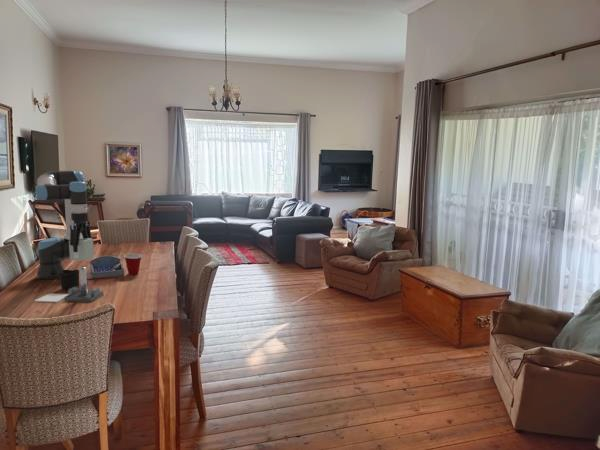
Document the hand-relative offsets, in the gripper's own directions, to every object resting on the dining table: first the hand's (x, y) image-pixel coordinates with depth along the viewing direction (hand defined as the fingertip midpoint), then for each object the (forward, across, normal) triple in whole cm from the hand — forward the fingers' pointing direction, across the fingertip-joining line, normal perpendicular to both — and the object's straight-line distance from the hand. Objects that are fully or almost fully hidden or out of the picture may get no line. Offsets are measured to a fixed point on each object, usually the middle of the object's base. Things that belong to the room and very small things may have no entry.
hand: (82, 256), depth 225 cm
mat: (+22, -3, +15) cm, 27 cm away
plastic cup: (+22, +50, -3) cm, 55 cm away
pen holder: (+22, +15, +17) cm, 32 cm away
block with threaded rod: (+22, 0, 0) cm, 22 cm away
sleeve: (+1, 0, 0) cm, 1 cm away
